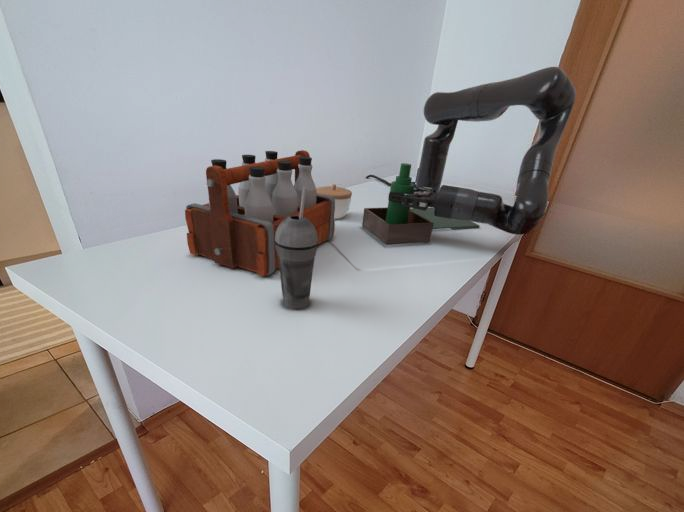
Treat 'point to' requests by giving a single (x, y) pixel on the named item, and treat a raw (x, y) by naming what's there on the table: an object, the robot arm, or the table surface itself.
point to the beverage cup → (296, 257)
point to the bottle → (401, 185)
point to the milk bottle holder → (255, 210)
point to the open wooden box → (397, 227)
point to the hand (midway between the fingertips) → (392, 193)
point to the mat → (444, 220)
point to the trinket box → (337, 199)
